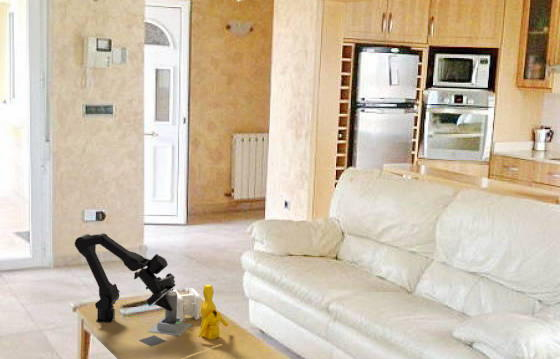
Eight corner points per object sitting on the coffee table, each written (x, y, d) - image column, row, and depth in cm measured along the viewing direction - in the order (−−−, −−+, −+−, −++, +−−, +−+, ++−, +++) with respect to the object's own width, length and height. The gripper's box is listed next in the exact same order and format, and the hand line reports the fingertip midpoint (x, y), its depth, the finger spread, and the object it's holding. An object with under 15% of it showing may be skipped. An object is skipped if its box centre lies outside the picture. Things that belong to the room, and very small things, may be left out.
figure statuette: (202, 345, 275) (204, 293, 272) (188, 340, 280) (190, 289, 277) (231, 333, 289) (233, 284, 286) (217, 328, 294) (219, 279, 291)
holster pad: (138, 341, 276) (138, 340, 276) (154, 336, 282) (154, 335, 282) (150, 347, 270) (150, 346, 270) (166, 342, 276) (166, 341, 276)
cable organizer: (200, 322, 300) (201, 297, 299) (177, 324, 296) (177, 299, 295) (191, 310, 314) (192, 286, 312) (169, 312, 310) (169, 288, 308)
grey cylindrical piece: (163, 322, 288) (164, 293, 286) (167, 318, 293) (168, 289, 291) (173, 324, 287) (174, 294, 285) (178, 320, 292) (179, 291, 290)
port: (148, 332, 285) (148, 322, 285) (161, 321, 299) (162, 311, 298) (179, 337, 282) (180, 327, 282) (191, 325, 296) (192, 316, 295)
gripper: (154, 275, 278) (178, 304, 278) (172, 263, 296) (194, 290, 296) (136, 291, 281) (160, 320, 281) (154, 278, 299) (177, 305, 299)
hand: (174, 308), depth 289 cm, fingers closed on grey cylindrical piece, 5 cm apart
